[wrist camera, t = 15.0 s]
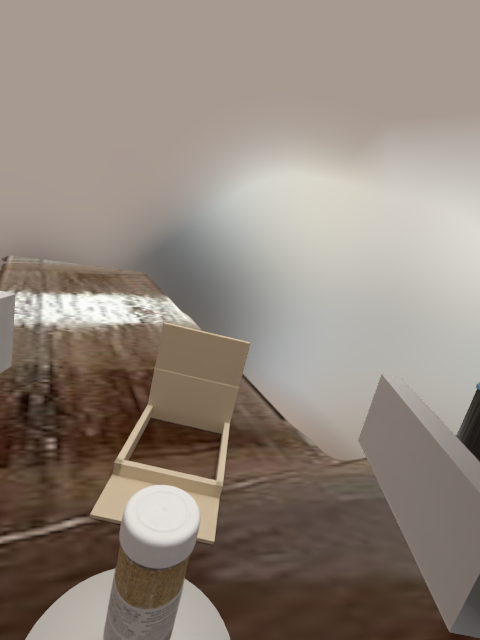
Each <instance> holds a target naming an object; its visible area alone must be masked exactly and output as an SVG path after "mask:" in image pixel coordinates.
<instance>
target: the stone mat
mask: <svg viewBox="0 0 480 640" xmlns="http://www.w3.org/2000/svg"><path fill="white" fill-rule="evenodd" d="M114 572H115V569H113V570H109V571H105V572H102V573H100V574H97V575H95V576H92V577H90V578H89V579H87V580H85V581H83V582H81V583H79V584H78V585H76V586H75V587H73V588H72V589H70V590H69V591H68V592H66V593H65V594H64V595H63V596H61V597H60V598H59V599H58V600H57V601H56V602H55V603H54V604H53V605H52V606H51V607H50V608H49V609H48V610H47V611H46V612H45V613H44V614H43V615H42V617H41V618H40V619H39V620H38V622H37V623H36V624H35V625H34V627H33V628H32V630H31V631H30V633H29V634H28V636H27V637H26V639H25V640H103V635H104V628H105V622H106V616H107V610H108V605H109V599H110V594H111V589H112V583H113V578H114ZM170 640H230V637H229V634H228V631H227V629H226V627H225V624H224V622H223V620H222V618H221V617H220V615H219V613H218V611H217V610H216V608H215V607H214V606H213V604H212V603H211V602H210V600H209V599H208V598H207V597H206V596H205V595H204V594H203V593H202V592H201V591H200V590H199V589H198V588H197V587H195V586H194V585H193V584H192V583H190V582H189V581H187V580H186V579H185V581H184V586H183V590H182V595H181V599H180V603H179V607H178V611H177V615H176V619H175V623H174V627H173V631H172V635H171V638H170Z"/></svg>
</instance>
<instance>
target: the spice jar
mask: <svg viewBox="0 0 480 640" xmlns="http://www.w3.org/2000/svg"><path fill="white" fill-rule="evenodd" d="M200 519H201V516H200V510H199V507H198V505H197V503H196V501H195V500H194V499H193V497H192V496H190V495H189V494H188V493H187V492H185V491H184V490H182V489H180V488H177V487H174V486H169V485H154V486H149V487H146V488H144V489H141V490H140V491H138V492H137V493H135V494H134V495H133V496H132V497H131V498H130V499H129V501H128V502H127V504H126V506H125V509H124V513H123V517H122V522H121V527H120V535H119V538H120V551H119V556H118V562H117V566H116V568H115V572H114V578H113V583H112V589H111V594H110V599H109V605H108V610H107V616H106V622H105V628H104V635H103V640H170V638H171V635H172V631H173V627H174V623H175V619H176V615H177V611H178V607H179V603H180V599H181V595H182V590H183V586H184V581H185V573H186V568H187V564H188V560H189V556H190V554H191V552H192V550H193V548H194V546H195V543H196V539H197V535H198V531H199V526H200Z"/></svg>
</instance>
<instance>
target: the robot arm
mask: <svg viewBox="0 0 480 640" xmlns="http://www.w3.org/2000/svg"><path fill="white" fill-rule="evenodd" d="M14 306H15V294H13V293H8V292H4V291H0V373H1V372H3V371H4V370H6V369H8V368H9V367H11V364H12V344H13V325H14ZM476 387H477V391H476V393H475V396H474V398H473V400H472V402H471V405H470V407H469V409H468V412H467V414H466V416H465V418H464V420H463V423H462V425H461V427H460V429H459V431H458V433H457V436H455V435H454V434H453V433H452V432H451V431H450V429H449V428H448V427H447V426H446V425H445V424H444V423H443V422H442V421H441V420H440V419H439V417H438V416H437V415H436V414H435V413H434V412H433V411H432V410H431V409H430V408H429V407H428V406H427V405H426V404H425V402H424V401H423V400H422V399H421V398H420V397H419V396H418V395H417V394H416V393H415V392H414V391H413V389H412V388H410V386H409V385H408V384H407V383H406V382H405V381H404V380H403V379H402V378H397V377H392V376H388V375H383V374H382V375H381V378H380V381H379V383H378V386H377V389H376V392H375V395H374V397H373V400H372V403H371V406H370V409H369V412H368V414H367V417H366V420H365V423H364V426H363V429H362V431H361V434H360V437H359V443H360V445H361V447H362V449H363V451H364V453H365V455H366V457H367V459H368V462H369V464H370V466H371V468H372V470H373V472H374V474H375V476H376V478H377V480H378V483H379V485H380V487H381V489H382V491H383V493H384V495H385V497H386V499H387V502H388V504H389V506H390V508H391V510H392V512H393V514H394V516H395V518H396V521H397V523H398V525H399V527H400V529H401V531H402V533H403V535H404V537H405V540H406V542H407V544H408V546H409V548H410V550H411V552H412V554H413V556H414V558H415V561H416V563H417V565H418V567H419V569H420V571H421V573H422V575H423V577H424V580H425V582H426V584H427V586H428V588H429V590H430V592H431V594H432V596H433V599H434V601H435V603H436V605H437V607H438V609H439V611H440V613H441V615H442V618H443V620H444V622H445V624H446V626H447V628H448V630H449V632H452V633H457V634H462V635H467V636H472V637H477V638H480V382H479V383H478V384H477V386H476Z"/></svg>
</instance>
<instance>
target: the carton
mask: <svg viewBox="0 0 480 640" xmlns="http://www.w3.org/2000/svg"><path fill="white" fill-rule="evenodd" d="M249 346H250V342H246V341H242V340H238V339H234V338H229V337H225V336H221V335H216V334H212V333H208V332H204V331H200V330H196V329H191V328H187V327H183V326H179V325H174V324H170V323H166V322H164V323H163V328H162V334H161V339H160V344H159V350H158V355H157V360H156V365H155V370H154V375H153V380H152V386H151V391H150V396H149V402H148V405H147V407H146V409H145V411H144V412H143V414H142V416H141V418H140V419H139V421H138V423H137V424H136V426H135V428H134V430H133V431H132V433H131V435H130V437H129V438H128V440H127V442H126V443H125V445H124V447H123V449H122V450H121V452H120V454H119V456H118V457H117V459H116V461H115V462H114V468H113V474H112V476H111V478H110V480H109V481H108V483H107V485H106V487H105V488H104V490H103V492H102V494H101V496H100V497H99V499H98V501H97V503H96V505H95V506H94V508H93V510H92V512H91V513H90V518H94V519H99V520H103V521H108V522H112V523H117V524H121V522H122V517H123V513H124V509H125V506H126V504H127V502H128V501H129V499H130V498H131V497H132V496H133V495H134V494H135V493H137V492H138V491H140V490H141V489H144V488H146V487H149V486H154V485H169V486H174V487H177V488H180V489H182V490H184V491H185V492H187V493H188V494H189V495H190V496H192V497H193V499H194V500H195V501H196V503H197V505H198V507H199V510H200V516H201V519H200V526H199V531H198V535H197V539H196V541H198V542H203V543H208V544H212V545H214V540H215V532H216V524H217V515H218V507H219V499H220V495H221V491H222V487H223V479H224V470H225V461H226V452H227V444H228V435H229V426H230V421H231V417H232V413H233V409H234V405H235V401H236V397H237V394H238V390H239V386H240V382H241V378H242V374H243V370H244V366H245V362H246V358H247V354H248V350H249ZM150 418H154V419H159V420H163V421H168V422H172V423H176V424H181V425H185V426H189V427H194V428H198V429H203V430H207V431H211V432H216V433H220V434H222V435H221V442H220V449H219V456H218V463H217V469H216V476H215V480H211V479H207V478H203V477H198V476H194V475H189V474H185V473H180V472H176V471H171V470H167V469H163V468H158V467H154V466H149V465H145V464H140V463H136V462H131V461H128V460H129V458H130V456H131V454H132V453H133V451H134V449H135V447H136V445H137V443H138V441H139V439H140V437H141V435H142V434H143V432H144V430H145V428H146V426H147V424H148V422H149V420H150Z"/></svg>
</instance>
